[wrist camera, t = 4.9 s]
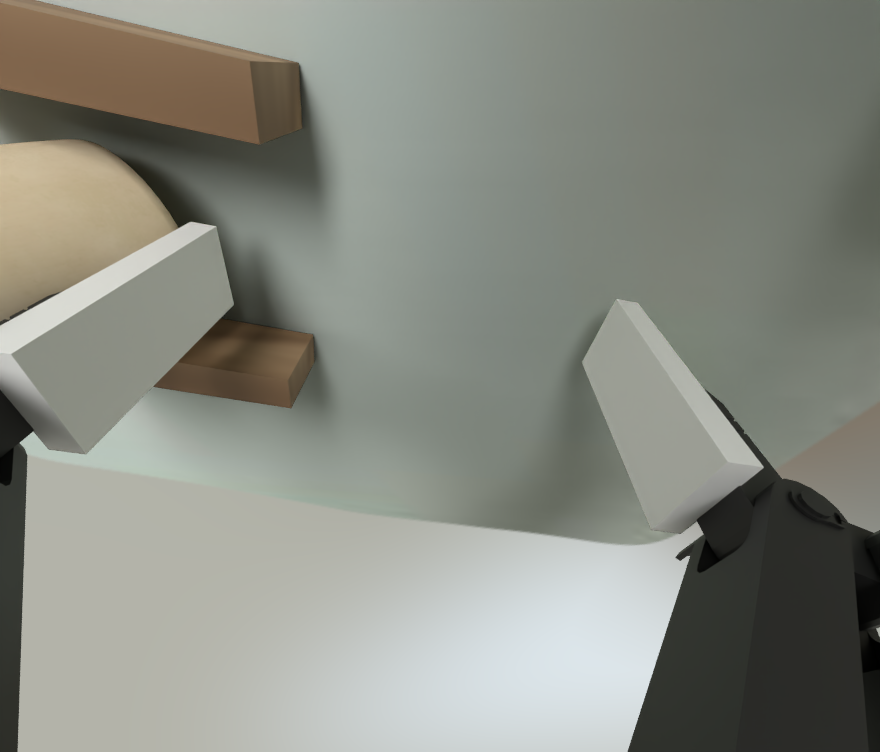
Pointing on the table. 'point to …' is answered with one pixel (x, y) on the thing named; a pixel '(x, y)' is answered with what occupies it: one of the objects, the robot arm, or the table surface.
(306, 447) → the table surface
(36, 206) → the candle
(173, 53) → the wooden stepped bars
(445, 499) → the table surface
